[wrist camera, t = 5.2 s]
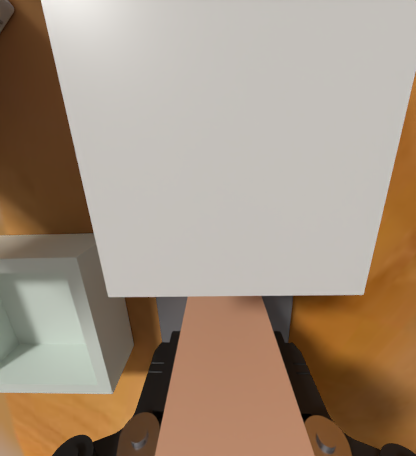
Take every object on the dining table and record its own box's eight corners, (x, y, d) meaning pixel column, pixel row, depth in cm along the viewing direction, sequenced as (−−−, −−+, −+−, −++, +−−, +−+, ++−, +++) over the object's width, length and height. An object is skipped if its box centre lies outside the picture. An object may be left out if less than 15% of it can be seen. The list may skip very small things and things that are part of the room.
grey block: (271, 104, 10) (448, -73, 2) (266, 205, 12) (363, 294, 4) (169, 110, 10) (32, -36, 3) (177, 208, 12) (107, 297, 4)
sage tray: (111, 232, 13) (76, 257, 10) (134, 345, 16) (112, 393, 13) (-27, 236, 14) (-105, 261, 11) (20, 345, 17) (-30, 391, 14)
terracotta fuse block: (254, 276, 13) (538, 1125, 2) (252, 326, 14) (403, 1003, 3) (191, 277, 13) (35, 1036, 2) (195, 327, 14) (116, 961, 3)
